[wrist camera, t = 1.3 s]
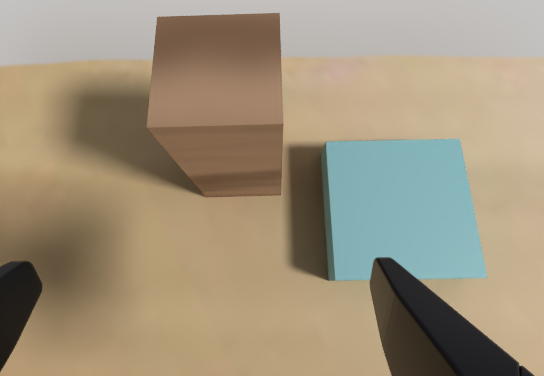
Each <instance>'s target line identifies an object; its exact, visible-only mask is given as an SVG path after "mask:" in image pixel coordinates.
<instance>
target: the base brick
mask: <svg viewBox="0 0 544 376" xmlns="http://www.w3.org/2000/svg"><path fill="white" fill-rule="evenodd" d="M321 167H322V183H323V199H324V215H325V231H326V247H327V263H328V279H329V281H341V280H370V278H371V272H372V266H373V261H374V259H375V258H377V257H390V258H392V259H394V260H395V261H396V262H397V263H399V264H400V265H401V266H402V267H404V268H405V269H406V270H407V271H408V272H410V273H411V274H412V275H413V276H414V277H416V278H417V279H463V278H487V273H486V268H485V263H484V258H483V253H482V248H481V243H480V238H479V233H478V228H477V223H476V218H475V213H474V208H473V203H472V198H471V193H470V188H469V183H468V178H467V173H466V167H465V162H464V157H463V152H462V147H461V142H460V139H435V140H386V141H338V142H326V143H325V146H324V149H323V151H322V154H321Z"/></svg>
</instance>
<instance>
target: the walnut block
mask: <svg viewBox="0 0 544 376" xmlns="http://www.w3.org/2000/svg"><path fill="white" fill-rule="evenodd" d="M280 46H281V45H280V16H279V13H267V14H238V15H237V14H235V15H204V16H172V17H157V25H156V35H155V46H154V56H153V66H152V76H151V86H150V96H149V107H148V117H147V127H146V128H147V129H148V130H149V131H150V132H151V134H152V135H153V136H154V137H155V138H156V140H157V141H158V142H159V143H160V144H161V145H162V147H163V148H164V149H165V150H166V151H167V152H168V154H169V155H170V156H171V157H172V158H173V159H174V161H175V162H176V163H177V164H178V165H179V167H180V168H181V169H182V170H183V171H184V172H185V174H186V175H187V176H188V177H189V178H190V179H191V181H192V182H193V183H194V184H195V185H196V186H197V188H198V189H199V190H200V191H201V192H202V194H203V195H204V196H205V197H232V196H272V195H281V177H282V146H283V103H282V73H281V47H280Z"/></svg>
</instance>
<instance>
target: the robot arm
mask: <svg viewBox="0 0 544 376" xmlns="http://www.w3.org/2000/svg"><path fill="white" fill-rule="evenodd" d="M370 290H371V295H372V300H373V305H374V309H375V314H376V319H377V324H378V328H379V333H380V338H381V342H382V347H383V350H384V353H385V357H386V360H387V363H388V366H389V369H390V372H391V375H392V376H534V375H533V374H532V373H531V372H530V371H528V370H527V369H526V368H525V367H523V366H519V363H518V362H517V361H516V360H515V359H514V358H512V357H511V356H510V355H509V354H508V353H506V352H505V351H504V350H503V349H501V348H500V347H499V346H498V345H497V344H495V343H494V342H493V341H492V340H491V339H489V338H488V337H487V336H486V335H485V334H483V333H482V332H481V331H480V330H479V329H477V328H476V327H475V326H474V325H472V324H471V323H470V322H469V321H468V320H466V319H465V318H464V317H463V316H462V315H460V314H459V313H458V312H457V311H456V310H454V309H453V308H452V307H451V306H449V305H448V304H447V303H446V302H445V301H443V300H442V299H441V298H440V297H439V296H437V295H436V294H435V293H434V292H433V291H431V290H430V289H429V288H428V287H427V286H425V285H424V284H423V283H422V282H420V281H419V280H418V279H417V278H416V277H414V276H413V275H412V274H411V273H410V272H408V271H407V270H406V269H405V268H404V267H402V266H401V265H400V264H399V263H397V262H396V261H395V260H394V259H392V258H390V257H377V258H375V259H374V261H373V266H372V272H371V278H370ZM41 292H42V282H41V280H40V278H39V276H38V274H37V272H36V270H35V268H34V266H33V265H32V263H30V262H29V261H11V262H9V263H7V264H5V265H3V266H1V267H0V372H1V370H2V368H3V367H4V365H5V363H6V362H7V360H8V358H9V356H10V355H11V353H12V351H13V349H14V348H15V346H16V344H17V342H18V340H19V338H20V336H21V334H22V332H23V329H24V327H25V325H26V323H27V321H28V319H29V317H30V315H31V313H32V311H33V309H34V307H35V305H36V302H37V300H38V298H39V296H40V294H41Z"/></svg>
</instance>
